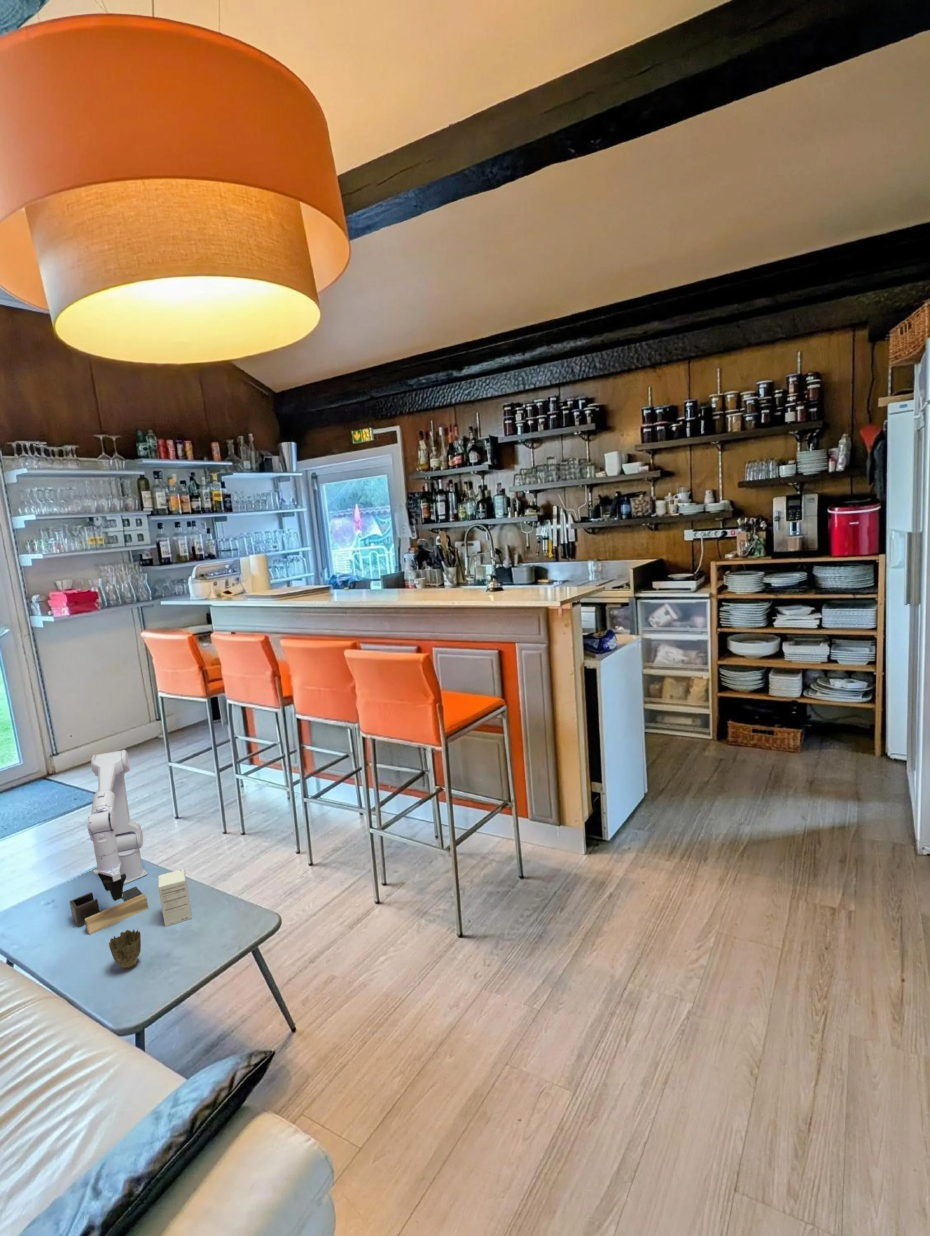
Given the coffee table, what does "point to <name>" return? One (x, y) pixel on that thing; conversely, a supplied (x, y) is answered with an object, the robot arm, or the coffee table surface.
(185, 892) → the supplement box
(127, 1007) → the coffee table surface
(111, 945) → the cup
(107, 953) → the coffee table surface
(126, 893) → the rest block
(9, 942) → the coffee table surface
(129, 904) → the rail
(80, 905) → the dark grey open box
